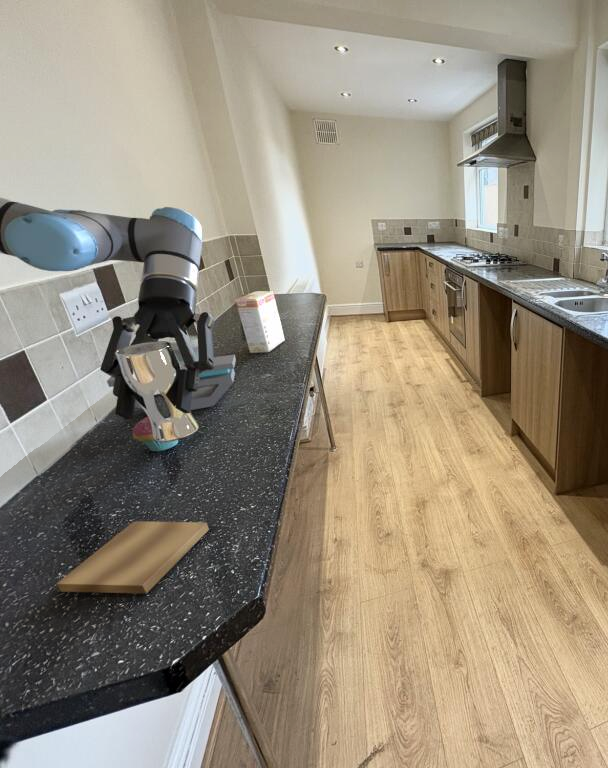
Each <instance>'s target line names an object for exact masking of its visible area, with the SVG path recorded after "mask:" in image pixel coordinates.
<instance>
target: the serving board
mask: <svg viewBox="0 0 608 768" xmlns="http://www.w3.org/2000/svg"><path fill="white" fill-rule="evenodd" d="M209 530H210V528H209V525H208V523H207V522H196V521H195V522H191V521H185V522H184V521H142V520H141V521H139V520H137V521H136V520H135V521H133V522H131V523H130V524H129V525H128V526H126V527H125V528H124V529H122V530H121V531H120V532H119V533H117V534H116V535H115V536H113V538H111V539H110V540H109V541H108V542H106V543H105V544H104V545H103V546H102V547H100V548H99V549H98V550H96V551H95V552H94V553H93V554H91V555H90V556H89V557H87V558H86V559H85V560H83V562H82V563H79V565H77V566H76V567H75V568H74V569H73V570H71V571H70V572H69V573H68V574H66V575H65V576H64V577H63V578H61V579H60V580H59V581H58V582H57V583H56V586H57V588H58V589H59V592H61V593H62V592H65V593H103V594H105V593H107V594H108V593H109V594H148V593H149V592H150V591H151V590H152V589H153V588H154V587H155V585H156V584H157V583H159V582H160V581H161V580H162V578H164V576H166V574H167V573H168V572H169V571H170V570H171V569H173V567H175V566H176V564H177V563H178V562H179V561H180V560H181V559H182V558H183V557H184V556H185V555H186V554H187V553H188V552H189V551H190V550H191V549H192V548H193V547H194V546H195V545H196V544H198V542H199V541H200V539H202V538H203V536H205V534H207V533H208V531H209Z"/></svg>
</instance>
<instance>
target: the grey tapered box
mask: <svg viewBox="0 0 608 768" xmlns="http://www.w3.org/2000/svg"><path fill="white" fill-rule="evenodd" d="M198 361H199V359H198ZM236 362H237V359H236V354H228V355H221V356H214V368H213V369H212V370H205V371H202V372H201V373H200V378H199V388H198V390H197V391H195V392H192V399H191V410H190V411H194V410H199V409H205V408H209V407H211V408H212V407H214V406H215V405H216V404H217V402H218V401H219V400H220V399H221V398H222V397H223V396H224V394H226V392H227V391H228V390H229V389H230V387H231V386H232V385H233V384H234V381H235V376H236V372H235V365H236ZM179 363H180V366H181V369H186V370H187V368H186V367H185V366H184V365H185V364H184V361H183V362H179ZM114 381H115V378H114V377H111V376H110V377H108V379H107V380H106V383H107V385H108V388H113V387H114ZM135 407H136V408H138V409H142V410H143V408H142V407H141V406H140V404H139V403H138V401H137V400H136V401H135Z"/></svg>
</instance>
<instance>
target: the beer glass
mask: <svg viewBox="0 0 608 768" xmlns="http://www.w3.org/2000/svg"><path fill="white" fill-rule="evenodd" d="M130 345H131V344H130ZM130 345H129V346H127V347H124V348H121V349H119V350H117V351H116V352H115V354H116V356H117V359H118V363H119V366H120V369H121V372H122V375H123V377H124V380H125V382H126V384H127V386H128V388H129V390H130V391H131V393H132V394H133V396H134V397H135V399H136V400H137V401H138V403H139V404H140V406H141V407H142V408H143V409H142V410H143V411H144V413H145V415H146V417H148V418H149V420H150V422H151V426H152V432H153V438H154V440H155V441H157V442H171V441H176V440H178V441H180V440H184V439H186V438H188V437H190V436H192V435H194V434H196V433H197V432H198V431H199V430H200V425H199V423H198V421H197V420H196V418H195V416H194V415H193V413H192V410H190V413H183V412H181V411H180V410H178V409H176V408H175V407H176V398H177V388H178V379H179V371H180V369H181V366H180V363H179V361H178V359H177V357H176V354H175V352H174V350H173V348H172V346H171V343H170V342H169V341H165V340H163V341H162V340H158V341H155V342H146V343H140V344H135V345H131V346H130Z"/></svg>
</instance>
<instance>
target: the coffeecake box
mask: <svg viewBox="0 0 608 768" xmlns="http://www.w3.org/2000/svg"><path fill="white" fill-rule="evenodd" d="M274 293H275V292H274V291H273V290H270V291H269V290H267V291H266V290H265V291H264V290H263V291H262V290H258V291H253V292H251V293H248V294H246V295H244V296H241V297H238V298H235V300H234V301H235V303H236V308H237V311H238V314H239V318H240V321H241V325H242V329H243V332H244V336H245V340H246V343H247V347H248V351H249V353H250V354H258V353H270V352H271V351H273V350H274V349H275V348H277V347H278V346H279V345H280V344H282V343H283V342H285V341H286V339H285V336H284V335H285V334H284V331H283V326H282V322H281V318H280V314H279V310H278V305H277V301H276V298H275V294H274Z"/></svg>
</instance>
